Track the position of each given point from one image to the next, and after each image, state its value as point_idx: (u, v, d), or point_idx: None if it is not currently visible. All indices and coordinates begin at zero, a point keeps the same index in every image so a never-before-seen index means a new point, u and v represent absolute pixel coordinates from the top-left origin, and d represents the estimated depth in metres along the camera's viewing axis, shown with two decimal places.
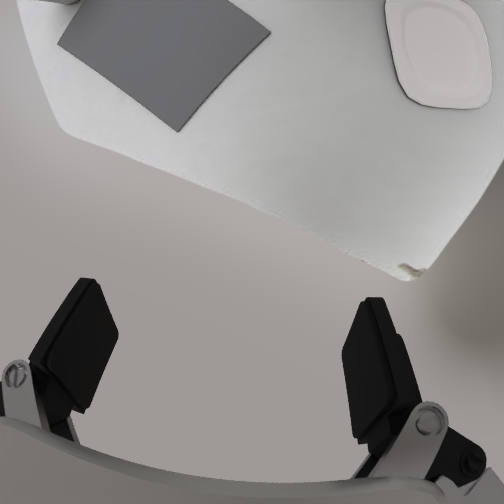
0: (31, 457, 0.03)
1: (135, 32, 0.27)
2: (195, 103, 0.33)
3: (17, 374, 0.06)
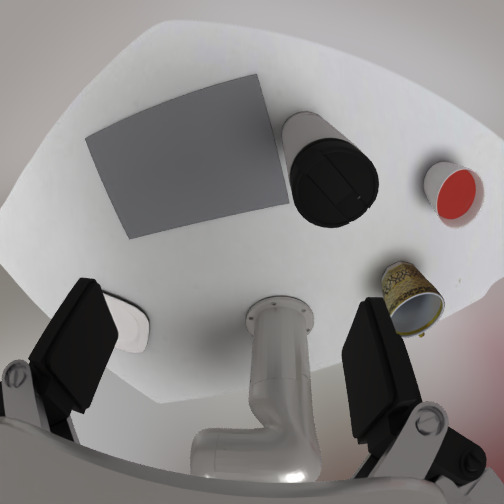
0: (31, 457, 0.03)
1: (184, 154, 0.36)
2: (98, 164, 0.37)
3: (17, 374, 0.06)
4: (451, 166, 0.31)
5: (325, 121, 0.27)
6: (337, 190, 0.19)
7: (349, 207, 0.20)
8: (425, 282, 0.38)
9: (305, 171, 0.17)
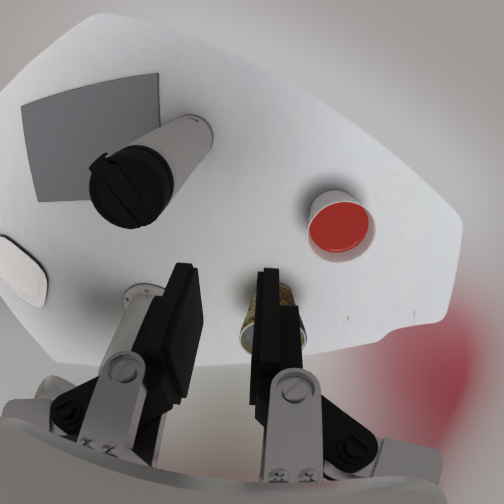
0: (31, 457, 0.03)
1: (86, 136, 0.35)
2: (25, 131, 0.33)
3: (123, 367, 0.07)
4: (339, 196, 0.34)
5: (190, 127, 0.28)
6: (126, 195, 0.20)
7: (140, 212, 0.21)
8: None
9: (94, 174, 0.18)
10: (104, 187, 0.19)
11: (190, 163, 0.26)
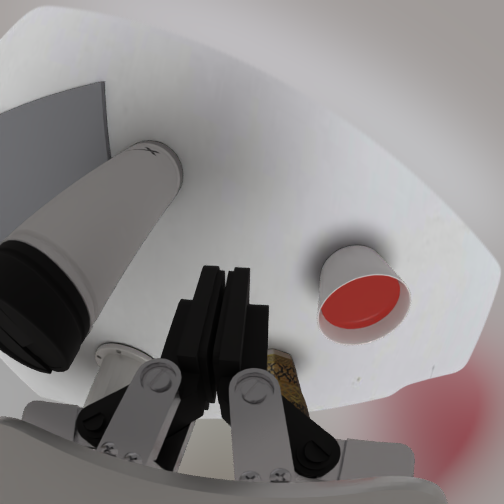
0: (31, 457, 0.03)
1: (26, 172, 0.24)
2: None
3: (157, 376, 0.07)
4: (364, 262, 0.24)
5: (136, 169, 0.17)
6: (15, 333, 0.09)
7: (44, 355, 0.10)
8: (289, 392, 0.30)
9: None
10: None
11: (128, 243, 0.15)
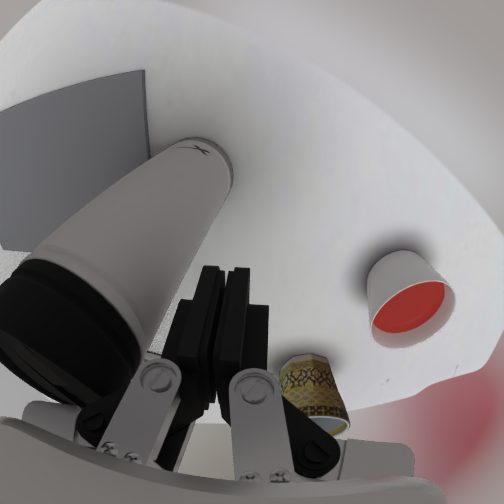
0: (31, 457, 0.03)
1: (46, 169, 0.23)
2: None
3: (156, 376, 0.07)
4: (416, 268, 0.22)
5: (188, 171, 0.16)
6: (45, 372, 0.07)
7: (82, 396, 0.08)
8: (331, 397, 0.29)
9: None
10: (6, 347, 0.07)
11: (184, 261, 0.13)
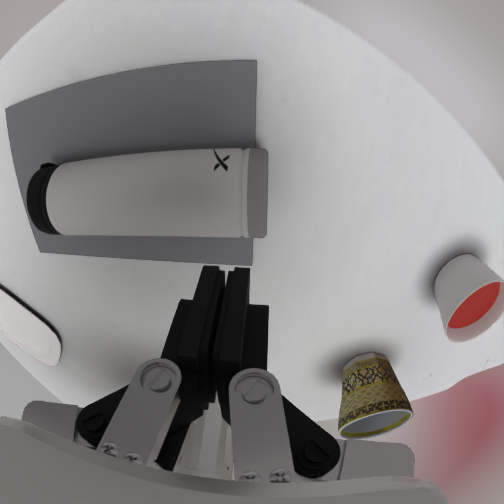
0: (31, 457, 0.03)
1: None
2: (13, 147, 0.21)
3: (156, 376, 0.07)
4: (483, 270, 0.22)
5: (159, 171, 0.17)
6: None
7: None
8: (398, 392, 0.29)
9: None
10: None
11: (96, 217, 0.18)
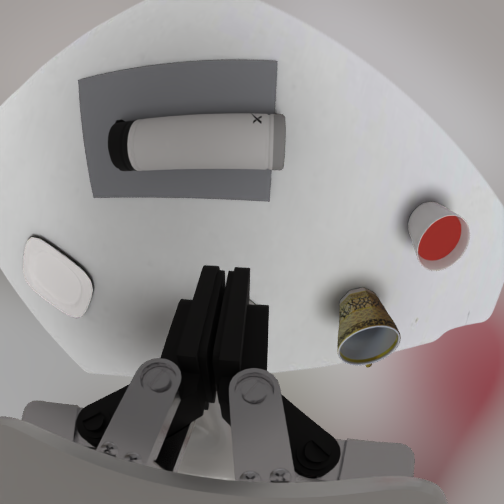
0: (31, 457, 0.03)
1: None
2: (83, 110, 0.31)
3: (156, 376, 0.07)
4: (443, 209, 0.32)
5: (218, 122, 0.27)
6: None
7: None
8: (386, 315, 0.39)
9: None
10: None
11: (169, 151, 0.28)
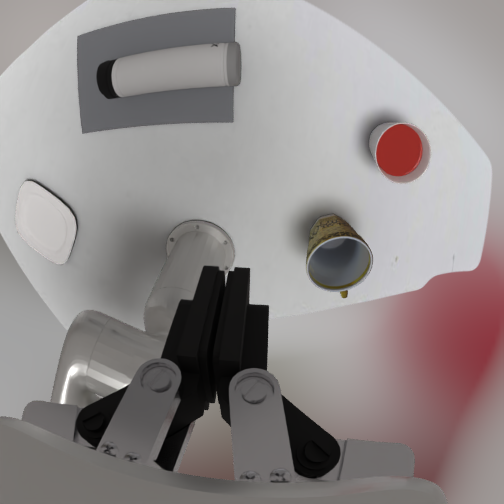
0: (31, 457, 0.03)
1: None
2: (79, 59, 0.32)
3: (156, 376, 0.07)
4: (398, 122, 0.34)
5: (183, 49, 0.29)
6: None
7: None
8: (354, 232, 0.40)
9: None
10: None
11: (144, 73, 0.30)
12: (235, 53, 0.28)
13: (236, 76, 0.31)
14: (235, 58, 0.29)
